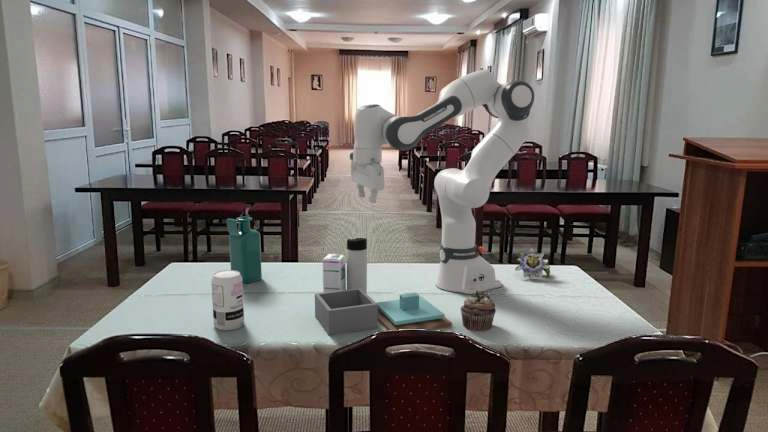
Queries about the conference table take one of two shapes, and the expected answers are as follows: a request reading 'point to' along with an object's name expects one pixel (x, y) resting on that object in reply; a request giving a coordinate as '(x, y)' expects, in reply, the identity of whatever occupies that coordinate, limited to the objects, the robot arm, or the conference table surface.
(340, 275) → the syrup box
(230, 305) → the supplement can
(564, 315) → the conference table surface
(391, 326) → the walnut board
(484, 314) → the cupcake
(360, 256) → the travel mug
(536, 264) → the passion flower
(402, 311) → the lid
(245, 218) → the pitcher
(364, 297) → the storage box
